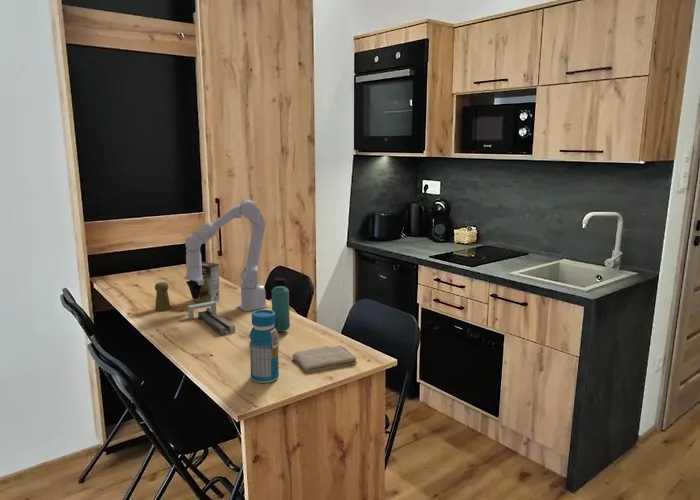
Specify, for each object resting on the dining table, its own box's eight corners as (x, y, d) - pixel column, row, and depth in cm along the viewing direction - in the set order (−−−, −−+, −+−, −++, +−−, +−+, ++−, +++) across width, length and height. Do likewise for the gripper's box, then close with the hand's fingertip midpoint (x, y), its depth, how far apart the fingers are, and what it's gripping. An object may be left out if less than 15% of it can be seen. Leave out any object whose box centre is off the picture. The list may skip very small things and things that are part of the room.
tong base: (210, 316, 208) (210, 310, 207) (233, 332, 191) (233, 326, 190) (198, 318, 205) (197, 312, 204) (220, 335, 188) (220, 329, 187)
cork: (165, 311, 212) (164, 285, 210) (152, 310, 213) (150, 284, 211) (173, 307, 218) (172, 281, 215) (160, 306, 219) (158, 280, 217)
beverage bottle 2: (293, 329, 195) (292, 277, 190) (285, 336, 189) (284, 281, 184) (276, 327, 197) (276, 275, 192) (268, 333, 191) (267, 279, 186)
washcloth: (359, 364, 167) (359, 355, 166) (305, 375, 159) (305, 365, 159) (342, 351, 177) (342, 342, 177) (292, 360, 170) (291, 351, 169)
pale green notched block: (214, 312, 212) (213, 301, 211) (216, 314, 210) (216, 302, 209) (188, 317, 206) (187, 305, 205) (190, 319, 204) (190, 307, 203)
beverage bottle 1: (254, 386, 151) (252, 319, 147) (247, 374, 158) (245, 310, 154) (283, 381, 154) (282, 315, 150) (274, 369, 162) (273, 306, 158)
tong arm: (210, 316, 208) (210, 307, 207) (235, 332, 191) (235, 323, 191) (205, 317, 207) (205, 308, 206) (230, 333, 190) (229, 324, 189)
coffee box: (193, 301, 226) (191, 264, 223) (203, 297, 232) (201, 261, 228) (211, 303, 223) (209, 266, 219) (220, 299, 229) (219, 263, 225)
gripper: (177, 262, 212) (179, 295, 215) (190, 270, 201) (192, 304, 204) (194, 260, 217) (196, 292, 219) (208, 268, 205) (209, 301, 208)
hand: (195, 298), depth 212 cm, fingers closed
